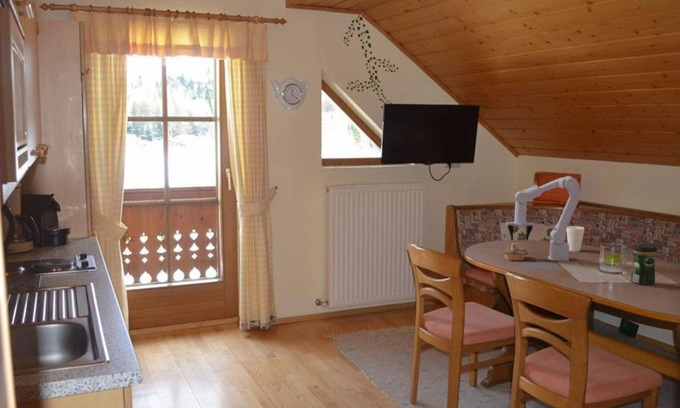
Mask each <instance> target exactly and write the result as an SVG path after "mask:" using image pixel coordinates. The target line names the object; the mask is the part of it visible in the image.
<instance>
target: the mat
mask: <svg viewBox="0 0 680 408" xmlns="http://www.w3.org/2000/svg"><path fill="white" fill-rule="evenodd" d="M521 261H522V264H524V266H525V267H526V269H527V270H543V271H544V270H546V271H550V270H551V271H562V269H561V268H560V266H559V265H558V264H556V262H554V261H553V262H551V261H544V262H543V261H523V260H521Z"/></svg>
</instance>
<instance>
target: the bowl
mask: <svg viewBox="0 0 680 408" xmlns="http://www.w3.org/2000/svg"><path fill="white" fill-rule="evenodd" d="M504 259H506V260H508V261H523V260H525V255H523V254H504Z"/></svg>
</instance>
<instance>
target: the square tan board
mask: <svg viewBox="0 0 680 408" xmlns="http://www.w3.org/2000/svg"><path fill="white" fill-rule="evenodd" d="M500 250H502V252H503V254H504V255H505V254H523V255H524V256H525V255H527V256H528V255H529V252H528V251H527V250H526V248H525V247H519V243H517V242H511V247H501V249H500Z"/></svg>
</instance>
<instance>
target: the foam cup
mask: <svg viewBox="0 0 680 408" xmlns="http://www.w3.org/2000/svg"><path fill="white" fill-rule="evenodd" d="M584 233H585V227H583V226H577V225H568V226H567V232H566V239H567V243H568V244H569V252H573V253H574V252H575V253H577V252H581V248H582V243H583V238H584Z"/></svg>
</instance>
